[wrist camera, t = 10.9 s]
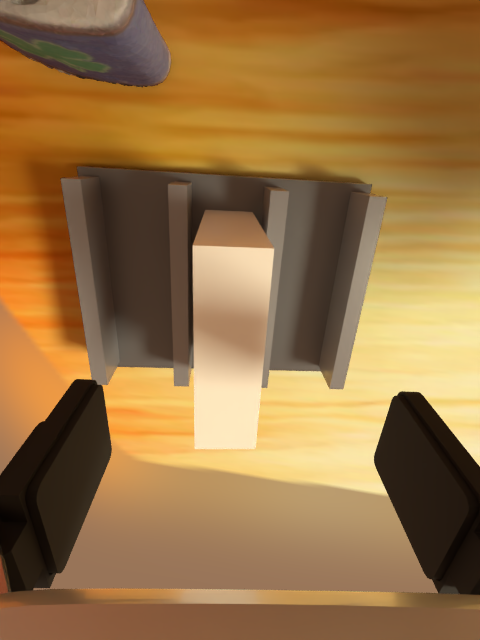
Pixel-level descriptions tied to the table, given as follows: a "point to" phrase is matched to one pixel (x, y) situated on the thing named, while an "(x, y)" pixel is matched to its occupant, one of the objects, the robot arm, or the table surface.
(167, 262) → the rack
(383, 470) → the robot arm
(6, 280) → the table surface
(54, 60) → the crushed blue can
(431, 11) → the table surface
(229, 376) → the beige square block
